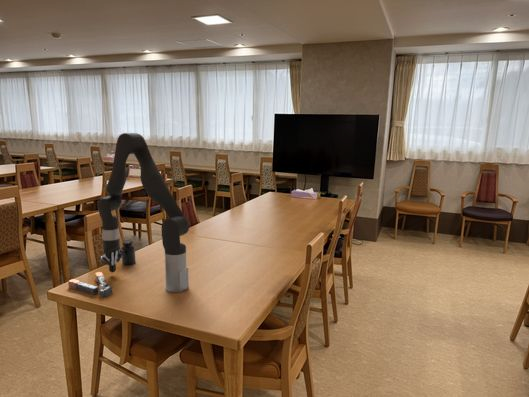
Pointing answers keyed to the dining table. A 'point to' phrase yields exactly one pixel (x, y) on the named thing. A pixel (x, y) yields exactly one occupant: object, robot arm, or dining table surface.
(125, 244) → the supplement bottle
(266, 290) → the dining table surface
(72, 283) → the tongs fixed
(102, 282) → the tong arm
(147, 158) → the robot arm
